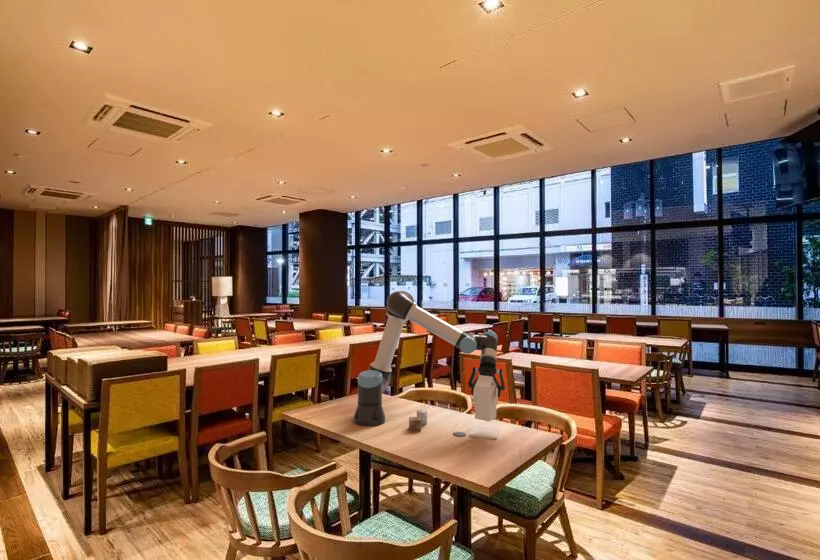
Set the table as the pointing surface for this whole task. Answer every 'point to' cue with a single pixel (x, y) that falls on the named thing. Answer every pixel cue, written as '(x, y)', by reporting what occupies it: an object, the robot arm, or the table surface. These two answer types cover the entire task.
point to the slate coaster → (459, 434)
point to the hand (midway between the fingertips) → (485, 401)
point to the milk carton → (485, 398)
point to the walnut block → (415, 423)
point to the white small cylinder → (422, 416)
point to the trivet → (484, 432)
